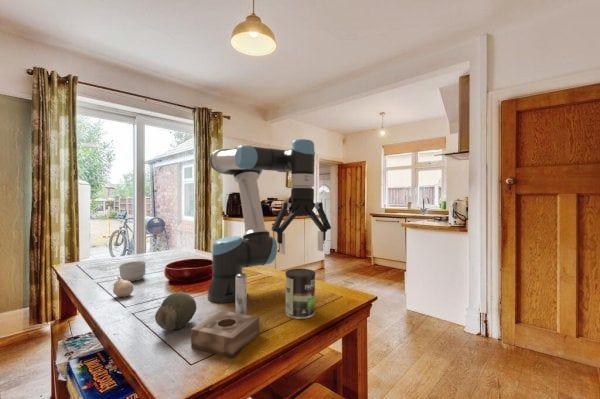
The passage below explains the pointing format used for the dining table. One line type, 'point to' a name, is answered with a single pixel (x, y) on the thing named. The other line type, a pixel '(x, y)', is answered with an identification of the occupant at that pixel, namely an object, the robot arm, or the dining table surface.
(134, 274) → the teacup
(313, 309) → the coffee can
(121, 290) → the garlic bulb
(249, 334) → the bore block
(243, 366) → the dining table surface
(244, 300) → the pin
